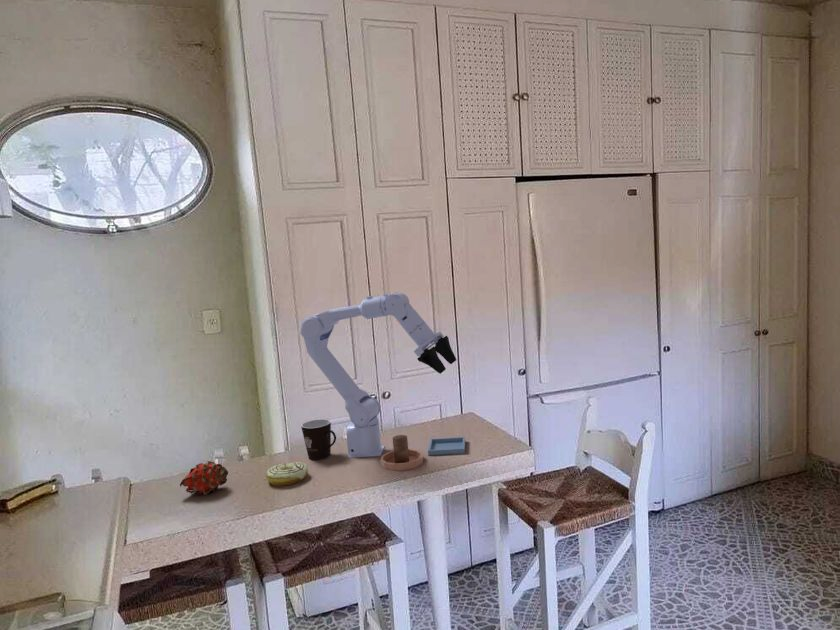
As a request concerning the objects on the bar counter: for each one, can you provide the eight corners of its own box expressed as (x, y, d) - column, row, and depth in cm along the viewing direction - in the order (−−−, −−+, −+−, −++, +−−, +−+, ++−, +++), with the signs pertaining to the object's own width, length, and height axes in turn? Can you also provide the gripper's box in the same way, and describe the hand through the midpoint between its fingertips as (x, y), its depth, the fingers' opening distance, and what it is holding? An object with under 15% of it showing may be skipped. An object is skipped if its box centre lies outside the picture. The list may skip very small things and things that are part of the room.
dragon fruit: (234, 493, 152) (187, 509, 148) (228, 467, 157) (183, 482, 154) (227, 475, 146) (178, 492, 142) (222, 449, 151) (174, 464, 148)
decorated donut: (311, 482, 151) (309, 468, 150) (269, 491, 147) (267, 477, 147) (305, 469, 160) (304, 456, 160) (266, 477, 157) (264, 464, 156)
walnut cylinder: (394, 465, 156) (391, 440, 155) (395, 459, 160) (393, 435, 159) (408, 464, 155) (406, 439, 155) (410, 459, 159) (407, 434, 159)
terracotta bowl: (378, 472, 153) (377, 465, 152) (384, 457, 164) (384, 450, 164) (421, 470, 151) (420, 463, 151) (424, 454, 163) (424, 448, 163)
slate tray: (428, 457, 161) (427, 450, 161) (431, 444, 171) (430, 438, 171) (464, 455, 160) (464, 448, 160) (465, 442, 170) (464, 436, 170)
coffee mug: (301, 455, 172) (298, 423, 171) (329, 449, 175) (326, 417, 174) (311, 467, 161) (307, 432, 160) (341, 460, 165) (337, 426, 164)
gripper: (414, 327, 151) (447, 368, 150) (437, 313, 164) (467, 350, 163) (398, 342, 155) (430, 382, 154) (421, 327, 167) (451, 363, 166)
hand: (448, 366), depth 159 cm, fingers open, 7 cm apart
